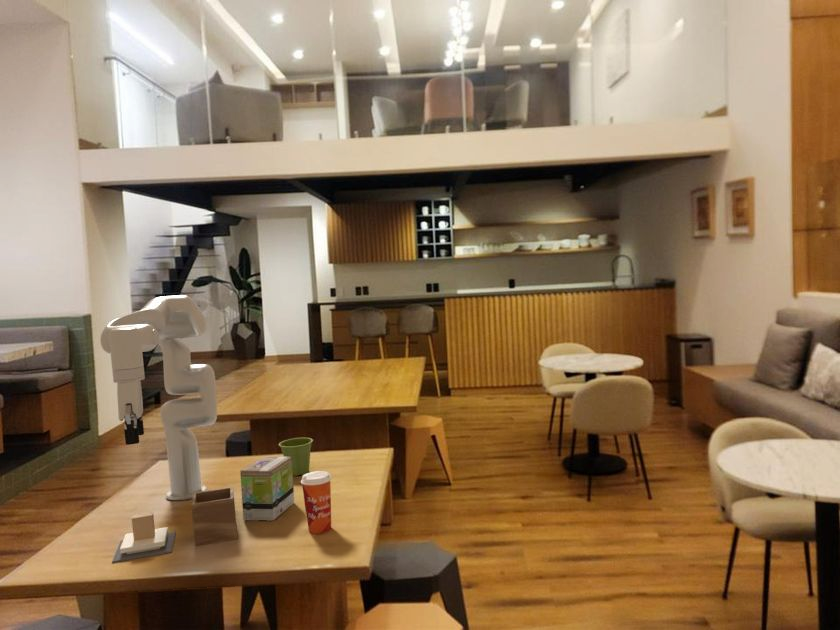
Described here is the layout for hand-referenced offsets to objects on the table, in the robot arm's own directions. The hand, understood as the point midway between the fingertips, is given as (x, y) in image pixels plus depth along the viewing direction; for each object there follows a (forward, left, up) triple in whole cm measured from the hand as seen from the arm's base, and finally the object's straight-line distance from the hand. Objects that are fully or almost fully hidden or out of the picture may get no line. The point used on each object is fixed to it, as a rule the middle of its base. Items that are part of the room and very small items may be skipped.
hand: (135, 439), depth 171 cm
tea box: (-12, +33, -29) cm, 46 cm away
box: (0, +18, -29) cm, 34 cm away
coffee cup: (+9, +45, -29) cm, 54 cm away
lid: (0, 0, -29) cm, 29 cm away
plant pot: (-47, +45, -29) cm, 71 cm away
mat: (0, 0, -29) cm, 29 cm away
